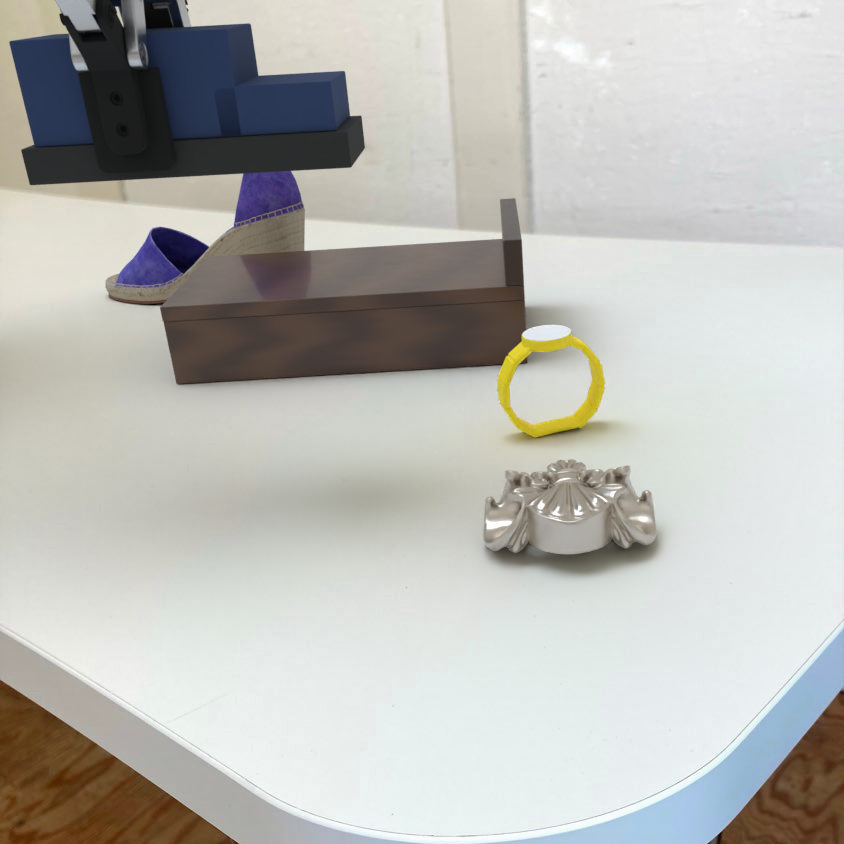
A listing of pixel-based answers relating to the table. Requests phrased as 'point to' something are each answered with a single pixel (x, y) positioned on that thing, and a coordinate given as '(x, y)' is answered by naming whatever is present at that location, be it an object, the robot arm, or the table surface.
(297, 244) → the sandal
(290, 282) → the wooden riser with lip
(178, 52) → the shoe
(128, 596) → the table surface
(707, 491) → the table surface
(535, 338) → the watch
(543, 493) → the ornament
